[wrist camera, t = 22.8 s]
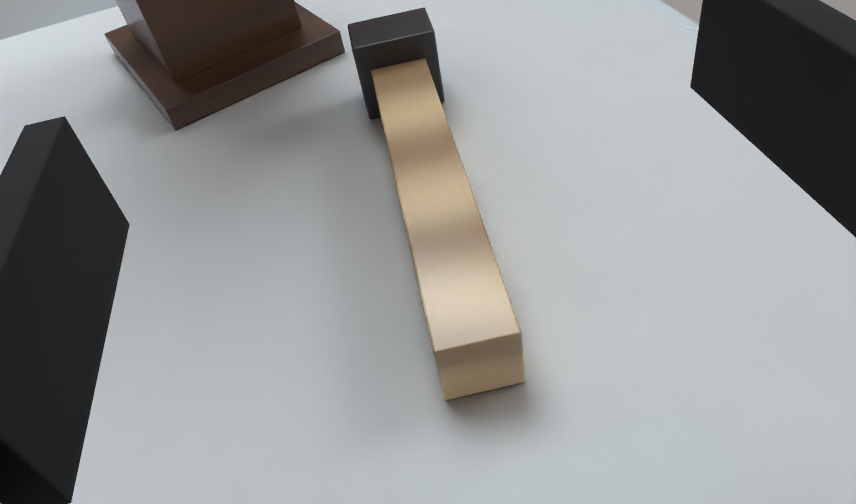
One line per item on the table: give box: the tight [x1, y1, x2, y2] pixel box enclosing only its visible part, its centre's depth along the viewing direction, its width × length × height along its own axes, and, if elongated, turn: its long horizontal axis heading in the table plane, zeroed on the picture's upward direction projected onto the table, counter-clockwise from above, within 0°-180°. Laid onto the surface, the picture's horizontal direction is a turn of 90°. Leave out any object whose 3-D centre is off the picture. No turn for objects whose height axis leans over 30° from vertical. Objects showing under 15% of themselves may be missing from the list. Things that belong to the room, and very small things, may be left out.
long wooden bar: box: [348, 8, 525, 400], centre depth 30 cm, size 22×4×4 cm, turn 10°
